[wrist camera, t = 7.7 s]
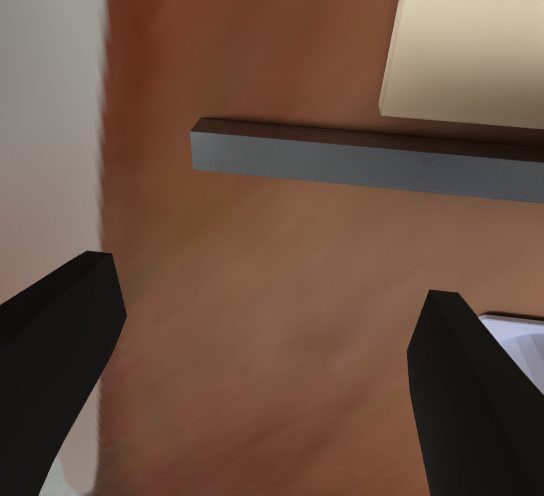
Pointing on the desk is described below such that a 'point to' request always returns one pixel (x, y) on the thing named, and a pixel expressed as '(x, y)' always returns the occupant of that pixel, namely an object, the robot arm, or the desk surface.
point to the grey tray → (370, 159)
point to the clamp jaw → (467, 62)
